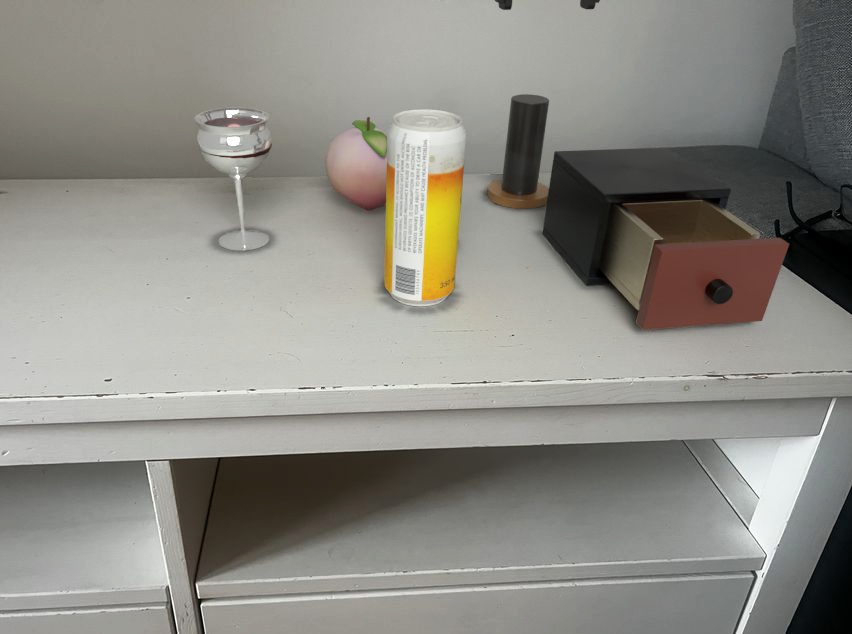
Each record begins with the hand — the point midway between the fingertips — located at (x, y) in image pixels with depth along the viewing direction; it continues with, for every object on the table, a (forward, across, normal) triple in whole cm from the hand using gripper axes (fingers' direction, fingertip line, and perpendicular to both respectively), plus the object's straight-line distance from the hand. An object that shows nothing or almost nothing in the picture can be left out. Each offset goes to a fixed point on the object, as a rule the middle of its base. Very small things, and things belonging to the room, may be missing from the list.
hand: (546, 8), depth 71 cm
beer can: (+20, -16, -20) cm, 33 cm away
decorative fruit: (+20, -18, -1) cm, 27 cm away
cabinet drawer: (+19, +5, -26) cm, 32 cm away
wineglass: (+20, -31, -8) cm, 38 cm away
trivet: (+20, 0, +1) cm, 20 cm away
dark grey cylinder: (+19, 0, +1) cm, 19 cm away
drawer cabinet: (+20, +5, -15) cm, 26 cm away
